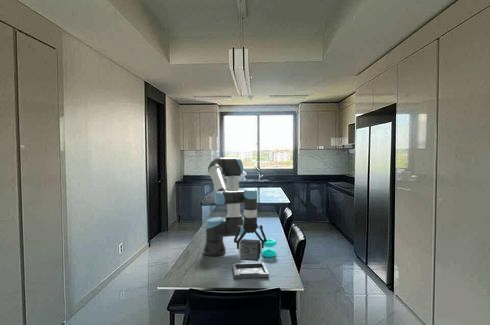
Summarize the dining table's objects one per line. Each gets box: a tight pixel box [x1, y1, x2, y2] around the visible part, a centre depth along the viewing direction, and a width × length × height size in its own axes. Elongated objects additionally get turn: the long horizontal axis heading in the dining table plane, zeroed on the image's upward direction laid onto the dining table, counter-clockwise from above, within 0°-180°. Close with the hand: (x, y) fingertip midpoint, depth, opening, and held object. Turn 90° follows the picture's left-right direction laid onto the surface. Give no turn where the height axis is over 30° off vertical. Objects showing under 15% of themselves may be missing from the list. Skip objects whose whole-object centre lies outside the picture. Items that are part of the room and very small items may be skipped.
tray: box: [232, 261, 270, 280], centre depth 185 cm, size 19×17×2 cm
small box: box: [239, 238, 261, 262], centre depth 184 cm, size 11×6×10 cm, turn 75°
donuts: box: [261, 238, 277, 258], centre depth 214 cm, size 10×10×10 cm
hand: (250, 254), depth 184 cm, fingers closed on small box, 12 cm apart
